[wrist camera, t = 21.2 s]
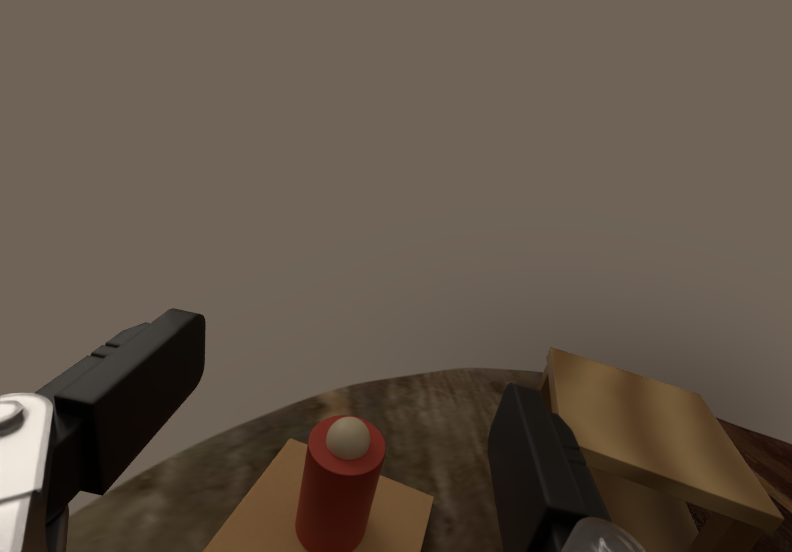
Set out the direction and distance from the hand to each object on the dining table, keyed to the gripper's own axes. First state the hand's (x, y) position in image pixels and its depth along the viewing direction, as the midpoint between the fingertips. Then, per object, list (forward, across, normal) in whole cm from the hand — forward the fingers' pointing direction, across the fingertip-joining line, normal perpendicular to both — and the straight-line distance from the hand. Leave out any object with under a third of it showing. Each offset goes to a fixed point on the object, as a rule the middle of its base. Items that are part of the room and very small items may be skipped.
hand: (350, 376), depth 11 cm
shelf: (+16, -20, +20) cm, 32 cm away
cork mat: (+10, 0, +20) cm, 22 cm away
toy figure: (+10, 0, +19) cm, 21 cm away
